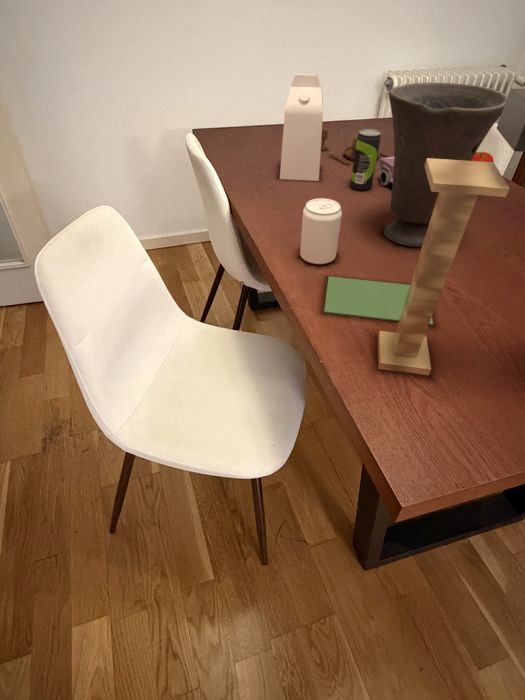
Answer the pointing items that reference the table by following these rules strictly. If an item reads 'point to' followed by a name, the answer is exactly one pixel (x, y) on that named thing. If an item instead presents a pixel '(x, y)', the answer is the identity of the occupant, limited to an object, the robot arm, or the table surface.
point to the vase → (432, 145)
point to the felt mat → (366, 298)
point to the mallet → (514, 120)
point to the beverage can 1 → (320, 230)
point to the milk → (302, 129)
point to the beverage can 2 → (365, 159)
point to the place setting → (348, 151)
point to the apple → (482, 157)
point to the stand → (436, 257)
